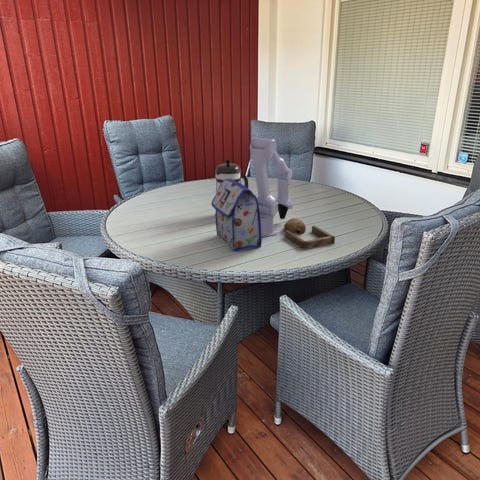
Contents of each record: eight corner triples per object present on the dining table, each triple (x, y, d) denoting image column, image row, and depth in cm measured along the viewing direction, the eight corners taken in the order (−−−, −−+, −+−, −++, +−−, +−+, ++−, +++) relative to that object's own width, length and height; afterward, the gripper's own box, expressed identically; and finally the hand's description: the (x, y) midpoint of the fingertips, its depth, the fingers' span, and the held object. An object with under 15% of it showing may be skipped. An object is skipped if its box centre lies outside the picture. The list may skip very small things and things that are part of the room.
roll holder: (303, 249, 169) (303, 242, 168) (285, 236, 182) (285, 230, 181) (334, 243, 175) (335, 236, 174) (314, 231, 188) (314, 225, 187)
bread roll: (286, 241, 187) (290, 229, 181) (279, 226, 193) (283, 214, 187) (306, 239, 189) (310, 227, 183) (298, 224, 196) (302, 212, 190)
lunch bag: (210, 235, 184) (208, 178, 174) (242, 230, 190) (242, 175, 180) (228, 254, 165) (227, 191, 155) (264, 247, 171) (265, 187, 161)
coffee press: (242, 222, 200) (241, 162, 189) (211, 220, 203) (209, 161, 192) (248, 211, 216) (248, 156, 204) (219, 209, 219) (218, 155, 207)
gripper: (298, 194, 188) (297, 221, 193) (283, 187, 200) (282, 213, 205) (285, 196, 185) (284, 224, 191) (270, 189, 198) (270, 215, 203)
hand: (282, 218), depth 198 cm, fingers closed
